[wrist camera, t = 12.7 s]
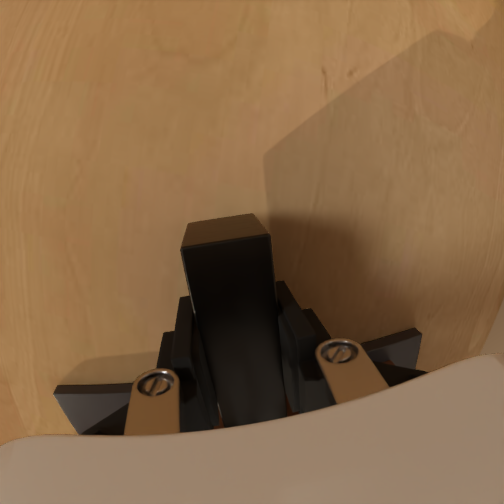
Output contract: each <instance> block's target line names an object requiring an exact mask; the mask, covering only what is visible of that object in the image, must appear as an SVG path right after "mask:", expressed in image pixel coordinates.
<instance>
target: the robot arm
mask: <svg viewBox="0 0 504 504" xmlns="http://www.w3.org/2000/svg"><path fill="white" fill-rule="evenodd" d="M275 283H276V293H277V303H278V313H279V316H278V324H279V334H280V345H281V356H282V367H283V378H284V389H285V392H286V395H287V398H288V401H289V404H290V407H291V409H292V412H297V411H298V413H299V414H298V415H294V416H289V417H285V418H280V419H275V420H270V421H265V422H259V423H254V424H248V425H242V426H235V427H229V428H221V429H214V426H219V413H218V401H217V397H216V394H215V390H214V386H213V383H212V379H211V375H210V371H209V367H208V363H207V360H206V356H205V352H204V348H203V344H202V339H201V335H200V331H199V330H198V329H197V325H196V321H195V317H194V312H193V308H192V303H191V299H190V296H185V297H180V300H179V306H178V312H177V318H176V325H175V331H171V332H164V333H163V337H162V342H161V347H160V352H159V357H158V362H157V367H156V369H153V370H149V371H147V372H144V373H143V374H141V375H140V376H138V377H137V379H136V380H135V381H134V383H133V385H132V390H131V396H130V401H129V403H127V404H126V405H124V406H123V407H121V408H120V409H118V410H117V411H115V412H114V413H112V414H111V415H109V416H107V417H106V418H104V419H103V420H101V421H100V422H98V423H96V424H95V425H93V426H92V427H90V428H89V429H87V430H85V431H84V432H83V433H82V434H80V435H68V434H45V435H36V436H28V437H23V438H19V439H15V440H12V441H9V442H7V443H5V444H3V445H2V446H0V504H504V353H503V354H502V353H493V354H485V355H479V356H475V357H471V358H467V359H463V360H461V361H458V362H455V363H452V364H449V365H447V366H444V367H442V368H439V369H437V370H434V371H432V372H429V373H428V372H425V371H421V370H416V369H410V368H405V367H400V366H395V365H390V364H386V363H381V362H376V361H372V360H371V359H370V358H369V356H368V355H367V353H366V352H365V350H364V349H363V348H362V346H361V345H360V344H359V343H358V342H356V341H354V340H351V339H347V338H333V339H332V338H331V337H330V335H329V334H328V332H327V331H326V329H325V328H324V326H323V325H322V323H321V322H320V320H319V319H318V317H317V316H316V314H315V313H314V312H313V310H312V309H311V308H308V309H303V310H301V308H300V306H299V305H298V303H297V302H296V300H295V298H294V297H293V295H292V293H291V292H290V290H289V289H288V287H287V285H286V284H285V282H284V281H277V282H275Z"/></svg>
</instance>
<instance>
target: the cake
mask: <svg viewBox="0 0 504 504" xmlns="http://www.w3.org/2000/svg"><path fill="white" fill-rule="evenodd" d="M421 338H422V333H420V332H419V331H418V330H417V329H416V328H412V329H409V330H406V331H403V332H400V333H397V334H394V335H390V336H387V337H384V338H380V339H377V340H374V341H370V342H367V343H363V344H360V345H361V346H362V348H363V349H364V350H365V352H366V353H367V355H368V356H369V358H370V359H371V360H372V361H376V362H381V363H386V364H390V365H395V366H400V367H405V368H410V369H415V367H416V363H417V358H418V354H419V349H420V343H421ZM132 385H133V383H130V384H111V385H58V386H57V387H56V389H55V391H54V393H53V395H54V397H55V398H56V400H57V402H58V403H59V405H60V407H61V408H62V410H63V411H64V413H65V415H66V416H67V418H68V419H69V421H70V422H71V424H72V425H73V427H74V428H75V430H76V431H77V433H78V434H79V435H80V434H82V433H83V432H84V431H85V430H87V429H89V428H90V427H92V426H93V425H95V424H96V423H98V422H100V421H101V420H103V419H104V418H106V417H107V416H109V415H111V414H112V413H114V412H115V411H117V410H118V409H120V408H121V407H123V406H124V405H126V404H127V403H129V401H130V396H131V390H132ZM286 403H287V415H288V417H289V416H294V415H298V414H299V413H298V411H297V412H292V409H291V407H290V404H289V401H288V398H287V395H286Z"/></svg>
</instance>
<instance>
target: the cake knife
mask: <svg viewBox="0 0 504 504" xmlns="http://www.w3.org/2000/svg"><path fill="white" fill-rule="evenodd" d="M180 251H181V256H182V261H183V266H184V271H185V276H186V281H187V285H188V290H189V294H190V299H191V303H192V308H193V312H194V317H195V321H196V325H197V329H198V330H199V331H200V335H201V339H202V344H203V348H204V352H205V356H206V360H207V363H208V367H209V371H210V375H211V379H212V383H213V386H214V390H215V394H216V397H217V401H218V409H219V412H220V416H221V419H222V422H223V426H224V428H229V427H235V426H242V425H248V424H254V423H259V422H265V421H270V420H275V419H280V418H285V417H288V415H287V403H286V392H285V389H284V378H283V367H282V356H281V345H280V334H279V324H278V316H279V313H278V303H277V293H276V283H275V273H274V264H273V254H272V245H271V236H270V234H269V233H268V231H267V230H266V229H265V228H264V226H263V225H262V224H261V223H260V221H259V220H258V219H257V218H256V217H255V215H254V214H252V213H251V214H244V215H237V216H231V217H224V218H217V219H211V220H205V221H199V222H192V223H188V225H187V228H186V232H185V235H184V238H183V242H182V245H181V249H180Z"/></svg>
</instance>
